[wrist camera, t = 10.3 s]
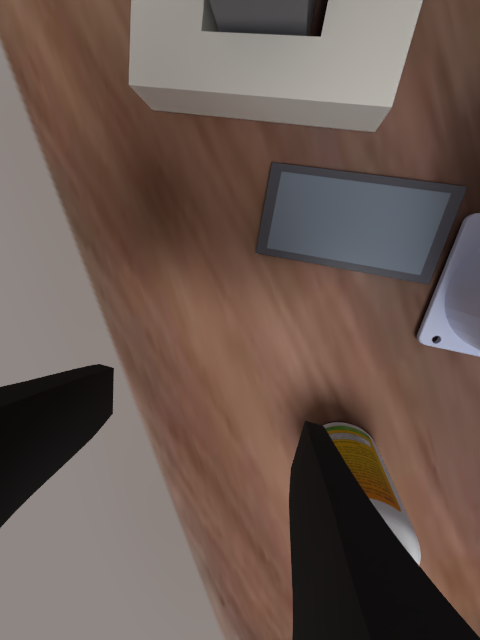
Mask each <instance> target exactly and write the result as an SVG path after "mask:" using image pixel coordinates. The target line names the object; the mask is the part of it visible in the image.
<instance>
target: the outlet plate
mask: <svg viewBox="0 0 480 640" xmlns="http://www.w3.org/2000/svg"><path fill="white" fill-rule="evenodd" d="M422 2H423V0H328V4H327V9H326V14H325V18H324V23H323V28H322V33H321V37H316V36H294V35H273V34H251V33H229V32H219V29H218V26H217V23H216V20H215V17H214V14H213V10H212V7H211V4H210V1H209V0H131V27H130V58H129V86H130V87H131V88H132V89H133V90H134V91H135V92H136V93H137V94H138V95H139V96H140V97H141V99H142V100H143V101H144V102H145V103H146V104H147V105H148V106H149V107H150V108H151V109H152V110H156V111H166V112H176V113H186V114H196V115H206V116H216V117H226V118H236V119H246V120H256V121H266V122H277V123H287V124H297V125H307V126H317V127H327V128H337V129H347V130H357V131H367V132H375V131H376V130H377V128H378V127H379V126H380V124H381V123H382V121H383V120H384V118H385V117H386V115H387V114H388V112H389V111H390V109H391V108H392V105H393V102H394V98H395V95H396V91H397V88H398V84H399V81H400V77H401V74H402V71H403V67H404V64H405V60H406V57H407V53H408V50H409V46H410V43H411V39H412V36H413V33H414V29H415V26H416V22H417V19H418V15H419V12H420V8H421V5H422Z"/></svg>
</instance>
